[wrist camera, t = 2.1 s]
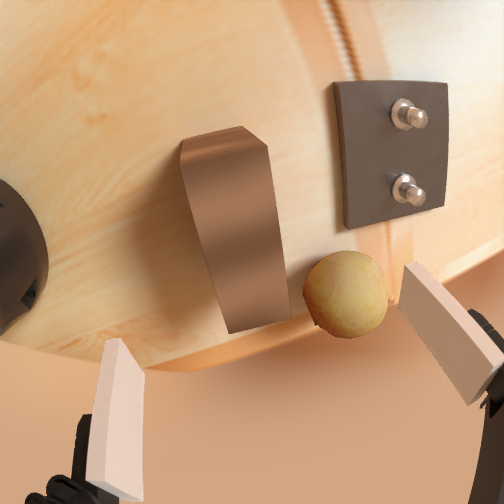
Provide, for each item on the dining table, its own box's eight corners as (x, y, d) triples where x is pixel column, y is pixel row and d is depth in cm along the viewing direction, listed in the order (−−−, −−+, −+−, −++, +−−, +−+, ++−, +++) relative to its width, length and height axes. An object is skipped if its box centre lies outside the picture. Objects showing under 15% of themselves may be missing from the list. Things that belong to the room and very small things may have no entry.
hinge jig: (344, 224, 28) (361, 243, 25) (333, 82, 21) (354, 83, 18) (438, 202, 29) (459, 215, 26) (440, 82, 22) (465, 86, 19)
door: (266, 258, 28) (291, 318, 21) (217, 270, 28) (229, 334, 21) (242, 125, 22) (266, 145, 15) (182, 139, 21) (179, 165, 15)
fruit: (360, 291, 33) (395, 341, 26) (289, 303, 31) (315, 362, 25) (373, 230, 29) (419, 276, 22) (294, 238, 28) (328, 292, 21)
